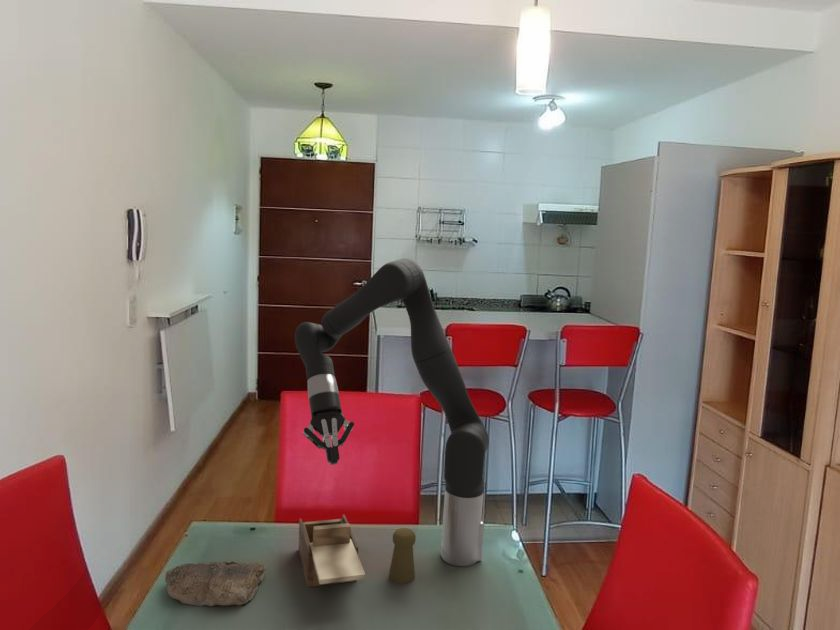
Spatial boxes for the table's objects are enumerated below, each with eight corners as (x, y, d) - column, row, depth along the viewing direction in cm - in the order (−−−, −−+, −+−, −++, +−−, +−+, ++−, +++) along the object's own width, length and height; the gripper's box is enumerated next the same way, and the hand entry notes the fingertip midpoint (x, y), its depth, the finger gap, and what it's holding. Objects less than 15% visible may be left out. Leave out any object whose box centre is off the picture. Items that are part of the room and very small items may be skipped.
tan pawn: (383, 575, 147) (385, 530, 145) (401, 565, 151) (404, 521, 149) (402, 586, 143) (404, 540, 141) (420, 576, 147) (423, 531, 145)
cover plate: (350, 542, 146) (351, 522, 145) (365, 578, 132) (366, 556, 132) (309, 547, 143) (310, 526, 143) (319, 584, 130) (320, 561, 129)
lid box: (343, 545, 159) (344, 514, 158) (356, 581, 144) (358, 547, 143) (298, 549, 155) (299, 518, 154) (307, 587, 140) (308, 553, 139)
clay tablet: (151, 606, 131) (248, 612, 131) (151, 584, 131) (248, 589, 130) (179, 570, 145) (267, 575, 145) (179, 549, 145) (267, 554, 144)
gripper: (298, 393, 156) (307, 463, 148) (351, 387, 160) (363, 455, 152) (296, 404, 162) (305, 472, 155) (347, 398, 166) (359, 463, 159)
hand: (334, 463), depth 153 cm, fingers closed
